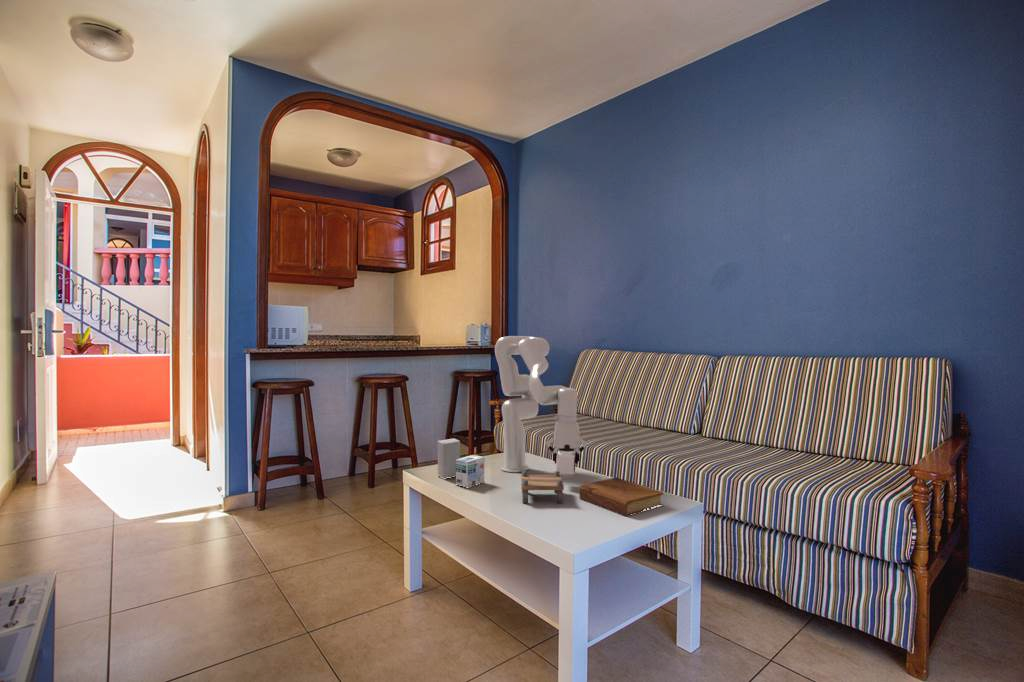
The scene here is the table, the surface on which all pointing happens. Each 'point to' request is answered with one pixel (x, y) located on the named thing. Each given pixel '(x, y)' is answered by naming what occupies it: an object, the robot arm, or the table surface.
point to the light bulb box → (469, 470)
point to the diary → (620, 495)
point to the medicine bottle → (565, 460)
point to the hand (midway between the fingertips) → (566, 462)
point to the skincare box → (448, 457)
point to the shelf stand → (542, 484)
